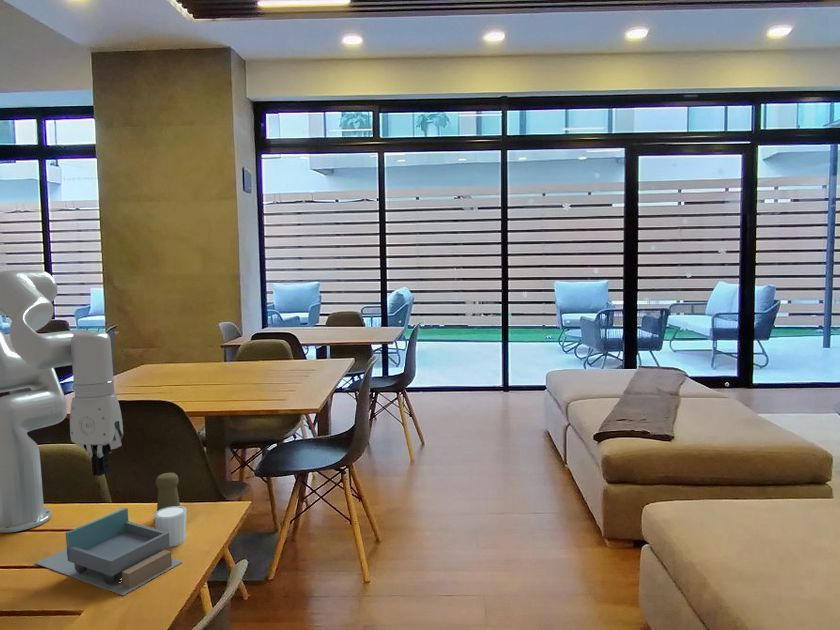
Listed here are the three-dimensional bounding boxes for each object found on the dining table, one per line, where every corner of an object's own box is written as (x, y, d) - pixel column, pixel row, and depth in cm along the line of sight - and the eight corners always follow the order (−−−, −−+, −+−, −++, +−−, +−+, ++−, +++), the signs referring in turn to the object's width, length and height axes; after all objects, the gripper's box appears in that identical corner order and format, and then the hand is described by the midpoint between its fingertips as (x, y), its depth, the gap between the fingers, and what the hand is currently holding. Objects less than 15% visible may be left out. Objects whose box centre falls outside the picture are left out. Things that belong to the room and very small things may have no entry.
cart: (68, 572, 125) (65, 532, 124) (127, 544, 137) (125, 507, 136) (112, 588, 118) (109, 546, 118) (170, 557, 130) (168, 519, 130)
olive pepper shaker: (176, 522, 149) (174, 478, 148) (151, 522, 149) (149, 478, 148) (186, 512, 155) (183, 469, 154) (162, 512, 155) (159, 470, 154)
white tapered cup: (177, 549, 135) (175, 519, 134) (149, 547, 136) (147, 516, 136) (194, 535, 142) (193, 506, 141) (167, 533, 143) (166, 504, 142)
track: (35, 563, 130) (33, 549, 129) (96, 536, 142) (95, 523, 142) (123, 595, 117) (122, 579, 116) (182, 562, 129) (181, 548, 129)
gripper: (51, 393, 130) (58, 477, 131) (110, 394, 126) (117, 482, 127) (79, 385, 137) (86, 466, 138) (136, 387, 133) (142, 469, 135)
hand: (101, 473), depth 133 cm, fingers closed
